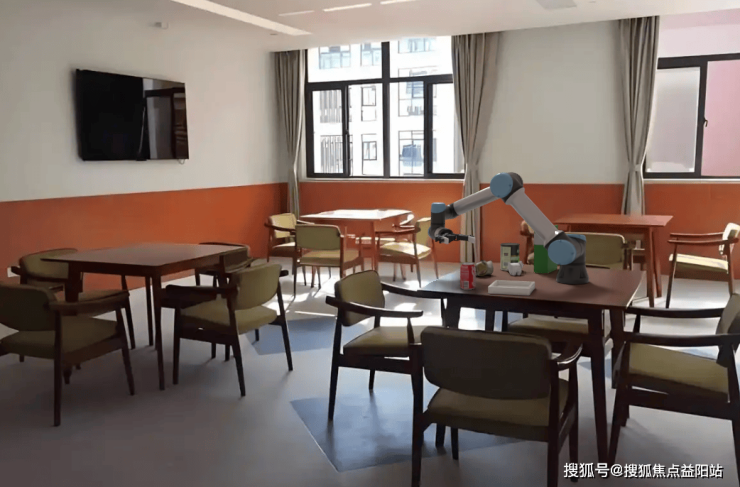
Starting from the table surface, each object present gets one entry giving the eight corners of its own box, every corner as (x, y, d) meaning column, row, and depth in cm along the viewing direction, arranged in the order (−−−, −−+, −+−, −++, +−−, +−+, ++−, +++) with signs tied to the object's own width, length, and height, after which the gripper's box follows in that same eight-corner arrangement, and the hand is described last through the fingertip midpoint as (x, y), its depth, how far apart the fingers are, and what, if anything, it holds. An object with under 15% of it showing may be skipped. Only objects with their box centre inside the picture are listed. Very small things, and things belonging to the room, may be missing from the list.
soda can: (474, 287, 309) (474, 262, 307) (476, 290, 302) (477, 264, 300) (459, 287, 309) (458, 262, 307) (461, 290, 302) (461, 264, 300)
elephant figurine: (516, 272, 348) (516, 259, 347) (525, 275, 339) (525, 261, 338) (503, 273, 346) (503, 260, 345) (512, 276, 337) (512, 262, 336)
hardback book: (543, 268, 362) (544, 224, 359) (557, 268, 358) (557, 224, 355) (533, 272, 347) (534, 227, 344) (547, 273, 343) (548, 227, 340)
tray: (534, 288, 304) (534, 281, 304) (529, 295, 287) (529, 288, 287) (495, 286, 310) (495, 279, 310) (488, 293, 294) (488, 286, 293)
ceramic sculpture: (499, 258, 340) (479, 263, 331) (499, 274, 341) (480, 280, 332) (483, 256, 348) (463, 261, 339) (484, 272, 350) (464, 277, 341)
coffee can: (519, 268, 363) (519, 242, 362) (519, 271, 353) (519, 244, 352) (500, 267, 365) (500, 242, 364) (500, 270, 355) (500, 244, 354)
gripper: (467, 242, 336) (485, 248, 315) (420, 243, 329) (436, 249, 309) (467, 227, 334) (485, 232, 314) (421, 228, 328) (436, 233, 308)
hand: (461, 241), depth 311 cm, fingers open, 13 cm apart
